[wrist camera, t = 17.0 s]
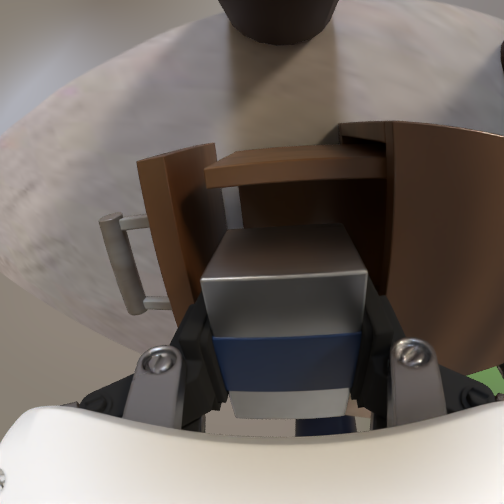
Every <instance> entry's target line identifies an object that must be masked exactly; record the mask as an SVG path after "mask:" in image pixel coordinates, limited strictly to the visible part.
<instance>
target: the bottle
mask: <svg viewBox="0 0 504 504" xmlns="http://www.w3.org/2000/svg"><path fill="white" fill-rule="evenodd" d="M218 1H219V3H220V4H221V6H222V8H223V9H224V11H225V13H226V15H227V16H228V18H229V20H230V22H231V23H232V25H233V26H234V27H235V28H236V29H237V30H238V31H240V32H241V33H242V34H243V35H244V36H246V37H249V38H251V39H253V40H255V41H257V42H260V43H266V44H271V45H293V44H297V43H300V42H303V41H306V40H309V39H311V38H312V37H314V36H315V35H317V34H318V33H320V32H322V30H323V29H324V28H325V26H326V25H327V24H328V22H329V21H330V19H331V17H332V14H333V12H334V10H335V7H336V5H337V3H338V1H339V0H218Z"/></svg>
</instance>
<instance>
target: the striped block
mask: <svg viewBox="0 0 504 504" xmlns="http://www.w3.org/2000/svg"><path fill="white" fill-rule="evenodd" d="M367 278H368V271H367V269H366V267H365V265H364V263H363V261H362V259H361V257H360V255H359V253H358V251H357V249H356V248H355V246H354V244H353V242H352V240H351V238H350V236H349V235H348V233H347V231H346V229H345V227H344V226H343V224H342V223H330V224H311V225H293V226H276V227H261V228H246V229H232V230H227V231H226V233H225V234H224V236H223V238H222V240H221V242H220V243H219V245H218V247H217V249H216V251H215V252H214V254H213V256H212V258H211V260H210V262H209V263H208V265H207V267H206V269H205V271H204V273H203V274H202V276H201V278H200V283H201V288H202V292H203V297H204V301H205V305H206V310H207V314H208V318H209V322H210V326H211V330H212V334H213V335H212V342H213V346H214V350H215V354H216V357H217V361H218V365H219V368H220V372H221V375H222V379H223V382H224V386H225V389H226V391H228V394H229V397H230V400H231V404H232V407H233V410H234V414H235V417H236V418H246V419H247V418H248V419H306V418H323V417H336V416H343V415H345V412H346V408H347V404H348V399H349V395H350V390H351V388H352V385H353V380H354V375H355V370H356V365H357V360H358V354H359V348H360V342H361V336H362V331H361V328H362V322H363V314H364V306H365V298H366V288H367Z"/></svg>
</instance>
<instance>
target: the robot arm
mask: <svg viewBox="0 0 504 504" xmlns="http://www.w3.org/2000/svg"><path fill="white" fill-rule="evenodd" d="M361 331H362V336H361V342H360V348H359V354H358V360H357V365H356V370H355V375H354V380H353V385H352V388H351V390H350V394H351V399H352V400H355V399H357V405H358V408H361V407H365V408H366V409H368V410H369V411H371V423H370V431H364V432H356V433H348V434H337V435H325V436H308V437H249V436H232V435H221V434H210V433H205V418H206V417H205V414H206V413H208V412H210V411H211V410H217V411H220V407H221V403H222V402H224V403H226V401H227V398H228V391H226V389H225V386H224V382H223V379H222V375H221V372H220V368H219V365H218V361H217V357H216V354H215V350H214V346H213V342H212V335H213V334H212V330H211V326H210V322H209V318H208V314H207V310H206V305H205V301H204V297H203V292H202V290H201V293H200V295H199V297H198V299H197V301H196V303H195V304H191V305H190V306H189V307H188V309H187V311H186V313H185V315H184V317H183V319H182V321H181V323H180V325H179V327H178V329H177V331H176V333H175V335H174V337H173V339H172V341H171V343H170V345H161V346H156V347H153V348H150V349H149V350H147V351H146V352H144V353H143V354H142V355H141V357H140V358H139V360H138V363H137V367H136V369H135V373H134V374H132V375H130V376H127V377H126V378H123V379H121V380H119V381H117V382H114V383H112V384H110V385H108V386H106V387H103V388H101V389H99V390H96V391H94V392H92V393H90V394H88V395H87V396H86V397H85V398H84V399H83V400H82V402H81V403H80V404H79V403H78V402H73V403H69V404H64V405H60V406H42V407H36V408H32V409H30V410H28V411H26V412H25V413H23V414H22V415H21V416H20V417H19V418H18V420H17V421H16V422H15V423H14V424H13V425H12V427H11V428H10V429H9V431H8V432H7V433H6V435H5V437H4V438H3V439H2V441H1V443H0V504H504V394H501V393H498V394H497V395H496V396H494V394H493V392H492V391H491V389H490V388H489V387H488V386H486V385H484V384H483V383H480V382H478V381H476V380H474V379H471V378H469V377H467V376H465V375H462V374H460V373H458V372H455V371H453V370H451V369H449V368H446V367H444V366H442V365H440V364H438V361H437V356H436V352H435V350H434V348H433V347H432V345H431V344H430V343H428V342H427V341H425V340H423V339H420V338H417V337H406V336H405V334H404V331H403V329H402V327H401V325H400V323H399V321H398V318H397V316H396V314H395V312H394V310H393V308H392V306H391V304H390V302H389V300H388V298H387V297H386V296H385V295H383V296H379V295H378V293H377V291H376V289H375V287H374V285H373V283H372V281H371V279H370V277H369V275H368V278H367V288H366V298H365V306H364V314H363V322H362V328H361Z"/></svg>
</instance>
